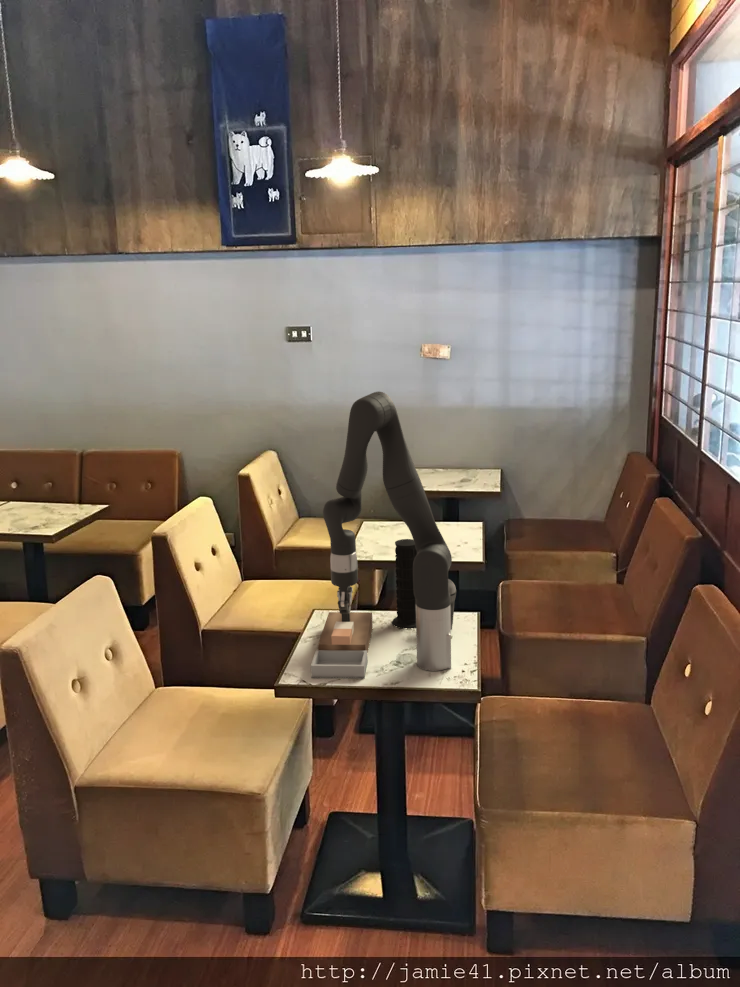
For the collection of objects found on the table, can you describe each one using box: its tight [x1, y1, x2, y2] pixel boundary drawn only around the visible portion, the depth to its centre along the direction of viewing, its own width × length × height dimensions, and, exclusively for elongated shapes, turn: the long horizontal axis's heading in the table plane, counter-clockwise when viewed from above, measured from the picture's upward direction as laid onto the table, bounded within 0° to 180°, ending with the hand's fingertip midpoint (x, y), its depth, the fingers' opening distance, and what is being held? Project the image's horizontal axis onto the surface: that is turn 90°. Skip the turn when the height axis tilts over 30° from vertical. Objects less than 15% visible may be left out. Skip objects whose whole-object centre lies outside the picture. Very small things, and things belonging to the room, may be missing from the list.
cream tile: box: [334, 622, 354, 635], centre depth 229 cm, size 5×5×2 cm
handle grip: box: [391, 538, 417, 630], centre depth 246 cm, size 10×26×10 cm
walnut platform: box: [317, 611, 374, 653], centre depth 234 cm, size 13×23×5 cm, turn 175°
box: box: [310, 649, 368, 679], centre depth 218 cm, size 14×10×4 cm
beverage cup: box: [448, 578, 457, 631], centre depth 241 cm, size 7×7×20 cm
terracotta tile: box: [331, 629, 352, 645], centre depth 224 cm, size 5×5×2 cm
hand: (346, 624), depth 233 cm, fingers closed
